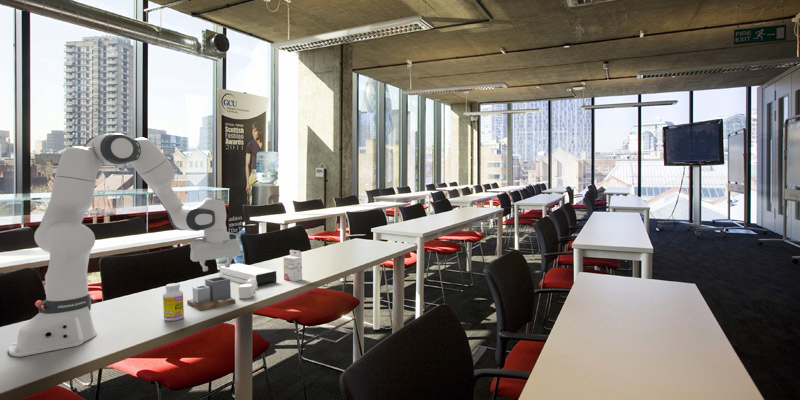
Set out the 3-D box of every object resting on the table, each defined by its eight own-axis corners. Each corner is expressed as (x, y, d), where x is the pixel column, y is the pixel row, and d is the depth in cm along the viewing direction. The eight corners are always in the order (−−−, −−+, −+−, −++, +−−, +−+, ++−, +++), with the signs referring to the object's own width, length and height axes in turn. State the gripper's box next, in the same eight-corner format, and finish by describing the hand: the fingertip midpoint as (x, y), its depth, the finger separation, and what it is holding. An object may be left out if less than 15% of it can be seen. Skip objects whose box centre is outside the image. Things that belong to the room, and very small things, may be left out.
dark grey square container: (213, 301, 184) (212, 282, 183) (205, 298, 189) (205, 279, 188) (230, 297, 189) (230, 279, 189) (222, 294, 194) (222, 276, 194)
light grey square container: (198, 304, 181) (197, 289, 180) (193, 301, 184) (192, 287, 184) (210, 301, 184) (209, 286, 184) (205, 299, 188) (204, 285, 187)
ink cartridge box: (283, 279, 227) (282, 250, 226) (290, 277, 231) (289, 249, 230) (295, 281, 222) (294, 252, 221) (302, 279, 226) (301, 250, 226)
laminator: (219, 278, 234) (219, 266, 234) (241, 273, 244) (240, 262, 243) (256, 288, 212) (256, 275, 212) (278, 282, 222) (278, 270, 221)
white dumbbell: (251, 298, 193) (250, 286, 193) (238, 299, 193) (238, 286, 192) (258, 287, 213) (258, 275, 213) (247, 287, 212) (246, 276, 212)
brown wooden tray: (201, 310, 177) (201, 305, 176) (187, 303, 186) (187, 299, 186) (235, 302, 187) (235, 298, 187) (220, 296, 196) (220, 292, 196)
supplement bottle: (175, 322, 163) (174, 287, 163) (159, 321, 165) (158, 286, 164) (187, 316, 170) (186, 282, 169) (172, 315, 171) (171, 282, 170)
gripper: (193, 239, 178) (194, 274, 178) (241, 234, 193) (242, 266, 193) (186, 238, 182) (188, 272, 183) (235, 233, 197) (236, 264, 198)
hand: (216, 269), depth 188 cm, fingers open, 8 cm apart
